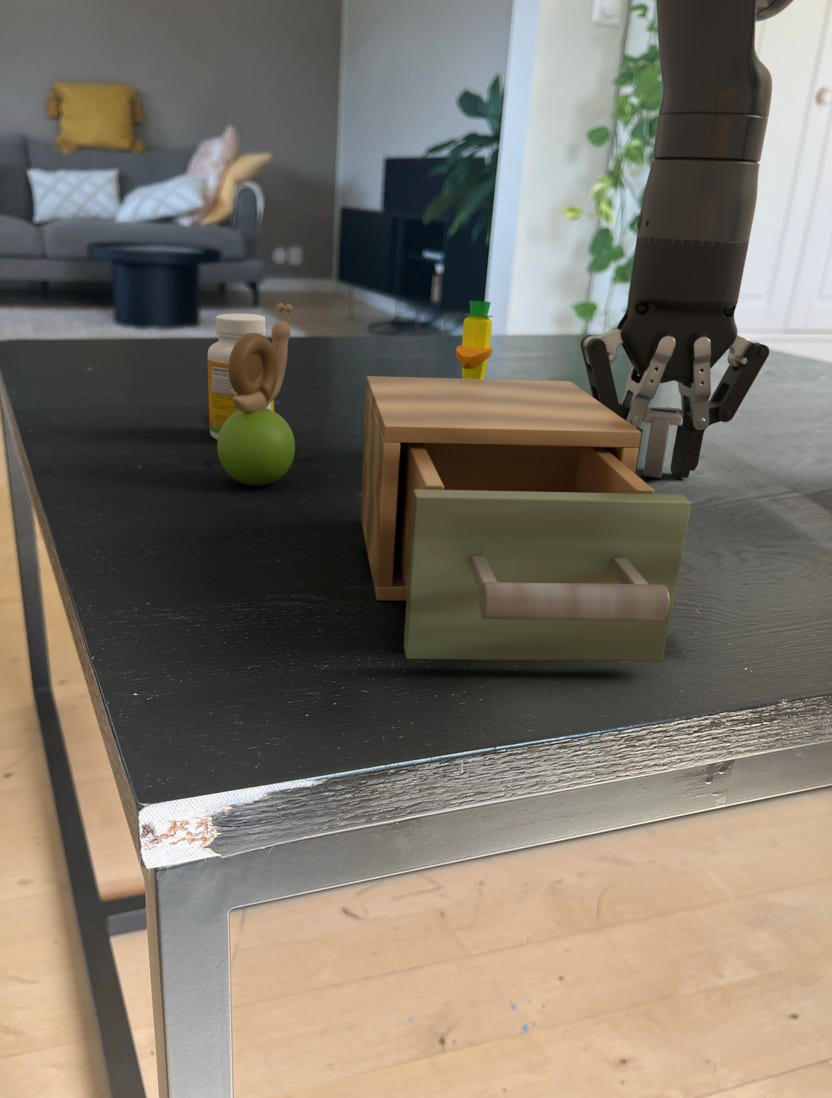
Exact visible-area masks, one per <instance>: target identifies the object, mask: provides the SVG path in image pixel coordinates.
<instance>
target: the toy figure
mask: <svg viewBox="0 0 832 1098" xmlns="http://www.w3.org/2000/svg"><path fill="white" fill-rule="evenodd" d="M490 306H491V301H484V300H483V301H481V300H469V311H470V312H469V313H465V314H464V316H467V317H465V318H464V319H463V328H462V342H461V345H457V346H456V347H455V348H456V349H455V355H456V359H457V360H458V362H459V364H460V365H461V376H462V378H461V379H486V378H485V377H486V371H487V369H488V363H489V359H490V357H491V356H492V352H493V347H491V341H492V329H493V321H492V320H491V319H490V318H493V317H494V316H493V315H488V314H489V311H490V308H491V307H490Z"/></svg>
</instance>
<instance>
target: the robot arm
mask: <svg viewBox="0 0 832 1098" xmlns="http://www.w3.org/2000/svg"><path fill="white" fill-rule="evenodd" d="M655 1H656V21H657V22H656V23H657V41H658V44H657V45H658V58H659V68H660V75H661V84H662V85H661V100H660V105H659V108H658V116H657V123H656V129H655V136H654V143H653V151H652V160H651V162H650V166H649V167H650V168H649V172H648V175H647V179H646V184H645V186H644V189H643V195H642V200H641V206H640V211H639V214H638V217H637V222H636V228H637V234H636V240H635V248H634V255H633V261H632V268H631V269H632V270H631V275H630V282H629V289H628V296H627V305H626V310H625V313H624V315H623V316H622V318H621V319H620V320H619V322H618V324H617V328H616V329H613V330H610V331H608V332H607V331H606V332H605V333H602V334H599V335H596V336H595V335H593V334H586V335H584V336H583V337H582V338H581V339H580V349H581V353H582V357H583V361H584V366H585V370H586V375H587V380H588V383H589V386H590V387H589V388H590V392H591V396H592V397H593V398H595V399H596V400H597V401H599V402H600V403H602V404H603V405H604V406H606V407H607V408H609V409H610V410H611V411H613V412H614V413H615V414H617V415H618V416H620V417H621V418H622V419H624V420H625V421H627V422H628V423H629V424H631V425H632V426H634V427H635V428H636V429H638V430H639V431H641V438H640V445H639V450H638V457H637V463H636V469H635V474H636V475H637V470H638V463H639V456H640V450H641V443H642V438H643V432H644V431H643V430H644V429H642V428H641V427H640V426H641V425H642V424H643V418H644V416H645V413H646V410H647V408H648V406H650V403H651V401H652V400H653V399H654V398H655V396H656V395H657V394H656V393H657V391H658V388H659V387H660V384H665V383H669V382H677V389H678V392H679V395H680V407H681V411H682V417H681V420H682V422H681V423H682V424H679V425H676V433H675V437H674V438H675V439H674V444H673V450H672V456H671V462H670V473H671V474H672V475H673V476H674V477H676V478H677V479H689V476H690V472H691V471H693V472H694V471H695V470H696V468H697V467H698V465H699V460H700V455H701V450H702V445H703V440H704V433H705V431H706V429H707V428H708V427H710V426H711V425H713V424H714V425H715V424H717V423H720V422H722V423H729V422H730V421H732V419H734V417H735V415H736V413H737V411H738V409H739V408H740V406H741V405H742V403H743V402H744V400H745V397H746V396H747V394H748V392H749V391H750V389H751V387H752V385H753V384H754V382H755V380H756V379H757V377H758V375H759V373H760V372H761V369H762V368H763V366H764V365H765V363H766V361H767V359H768V357H769V356H770V348H769V346H767V345H766V344H763V343H762V342H759V341H756V340H751V339H748V338H746V337H745V336H742V335H741V334H738V326H737V324H736V320H735V312H736V308H737V305H738V303H739V297H740V291H741V288H742V287H741V286H742V281H743V277H744V276H743V275H744V270H745V264H746V261H747V260H746V259H747V254H748V250H749V244H750V239H751V233H752V228H753V223H754V217H755V212H756V206H757V200H758V184H759V171H760V161H761V159H762V154H763V148H764V142H765V137H766V132H767V127H768V121H769V117H770V112H771V111H770V110H771V103H772V93H773V78H772V74H771V72H770V70H769V69H768V68H767V66H766V65H765V64H764V63H763V62H762V61H761V60H760V58H759V56H758V55H757V51H756V45H755V44H756V23H757V22H763V21H766V20H769V19H771V18H773V17H776V16H777V15H779V14H780V13H781V12H783V11H784V10H785V9H786V8H788V7H789V6H790V5H791V4H792V3H793V2H794V1H795V0H655ZM620 346H622V348H623V350H624V352H625V354H626V356H627V358H628V359H629V361H630V363H631V367H630V369H629V372H628V375H627V376H626V377H627V378H626V380H625V383H624V393H623V395H622V397H621V400H620V402H619V399H618V394H617V389H616V385H615V380H614V377H613V375H614V374H613V370H612V367H611V364H613V363H614V362H615V361H616V359H617V357H618V356H617V355H618V354H617V352H618V348H619V347H620ZM727 351H729V352H728V355H727V359H726V360H727V363H728V367H727V368H726V370H725V372H724V374H723V376H722V378H721V379H720V381H719V382H718V385H717V386H716V388H715V390H714V392H713V393H712V380H711V369H712V368H714V366H715V364H717V363H718V362H719V360H721V358H722V357H723V356H724V355H725V354H726V353H727Z"/></svg>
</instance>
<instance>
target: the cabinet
mask: <svg viewBox="0 0 832 1098" xmlns="http://www.w3.org/2000/svg"><path fill="white" fill-rule="evenodd" d="M365 380H366V381H365V404H364V405H365V406H364V429H363V430H364V431H363V455H362V457H363V458H362V480H361V481H362V482H361V504H360V505H361V507H360V508H361V510H360V521H361V526H362V533H363V537H364V543H365V547H366V552H367V558H368V563H369V568H370V573H371V578H372V583H373V588H374V595H375V599H376V601H391V602H392V601H393V602H394V601H397V602H398V601H400V602H407V592H406V589H405V585H404V581H403V578H402V574H401V570H400V567H399V563H398V559H397V556H396V549H397V532H398V514H399V497H400V479H401V461H402V444H403V443H444V444H489V445H535V446H580V447H604V448H605V449H607V450H608V451H609V452H610V453H611V454H612V455H614V456H615V457H616V458H617V459H618V460H619V461H621V462H622V463H623V464H624V465H625V466H626V467H628V468H629V469H630V470H631V471H632V472H633V473H635V469H636V463H637V457H638V450H639V445H640V446H641V444H640V438H641V431H639V430H638V429H636V428H635V427H634V426H632V425H631V424H629V423H628V422H627V421H625V420H624V419H622V418H621V417H620V416H618V415H617V414H615V413H614V412H613V411H611V410H610V409H609V408H607V407H606V406H604V405H603V404H602V403H600V402H599V401H597V400H596V399H595V398H593V396H592V395H591V394H589V393H587V392H586V391H585V390H583V389H582V388H580V387H579V386H578V385H577V384H575V383H574V382H572V381H570V380H568V381H566V380H559V381H558V380H533V379H532V380H527V379H525V380H524V379H496V378H495V379H494V378H493V379H491V378H488V379H487V378H484V379H462V378H456V377H455V378H451V377H417V376H416V377H413V376H379V375H378V376H377V375H367V376H366V379H365ZM641 439H642V438H641ZM638 458H639V457H638ZM637 464H638V463H637Z"/></svg>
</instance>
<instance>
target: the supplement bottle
mask: <svg viewBox="0 0 832 1098" xmlns="http://www.w3.org/2000/svg"><path fill="white" fill-rule="evenodd" d="M215 331H216V332H215V335H216V336H218V341H216V342H214V343H213V344H211V345H210V346H209V347H208V350H207V383H208V384H207V385H208V388H207V389H208V417H209V420H208V421H209V433H210V436H211V437H212V438H213V439H214V440H216V441H217V440H218V435H219V432H220V430H221V428H222V426H223V424H224V423H225V421H226V420H227V419H228V418H229V417H230V416H231V415H232V414H234V413H235V412H237V411H239V409H238V408H237V407H236V406H235V404H234V402H233V397H234V396H239V395H238V394H237V393H236V392H235V391H234V389H233V388H232V386H231V383H230V380H229V375H228V364H229V358H230V354H231V352H232V349H233V347H234V345H235V344H236V342H237V341H238V340H239V339H240V338H241V337H243V336H244V335H246V334H249V333H258V334H261V335H264V336H266V332H267V327H266V317H265V315H261V314H254V313H223V314H218V315H216V316H215ZM266 408H267V409H269V410H272V411H274V412H275V399H274V400H273V401H272V402H271V403H270V404H269V405H268V406H267V407H266Z"/></svg>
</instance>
